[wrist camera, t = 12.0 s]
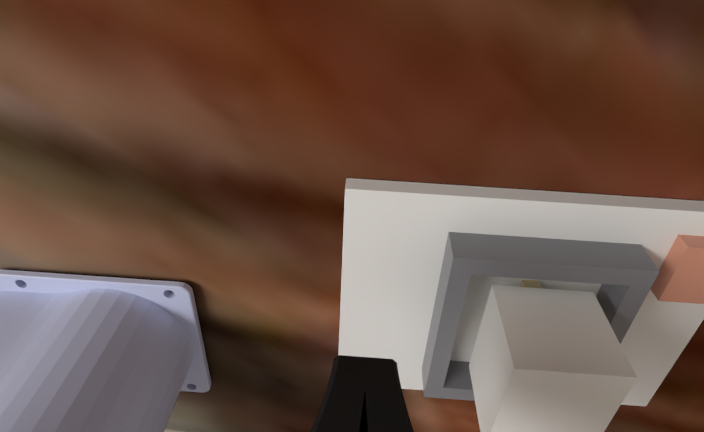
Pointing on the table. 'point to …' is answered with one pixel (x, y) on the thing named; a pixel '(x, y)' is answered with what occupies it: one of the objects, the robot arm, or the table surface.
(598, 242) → the socket plate
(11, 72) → the table surface
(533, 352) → the plug
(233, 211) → the table surface
